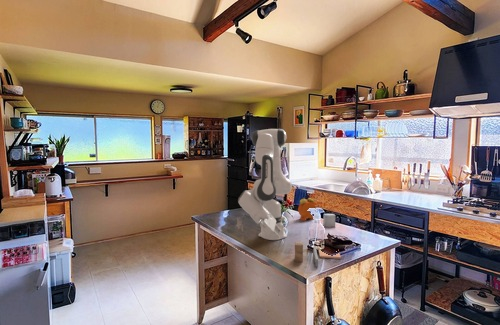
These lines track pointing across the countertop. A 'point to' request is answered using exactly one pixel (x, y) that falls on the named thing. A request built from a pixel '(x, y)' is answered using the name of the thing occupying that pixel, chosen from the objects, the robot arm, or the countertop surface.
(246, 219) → the countertop surface
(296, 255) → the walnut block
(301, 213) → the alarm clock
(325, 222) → the medicine box
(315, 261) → the acrylic wall
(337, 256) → the pad
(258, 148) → the robot arm
